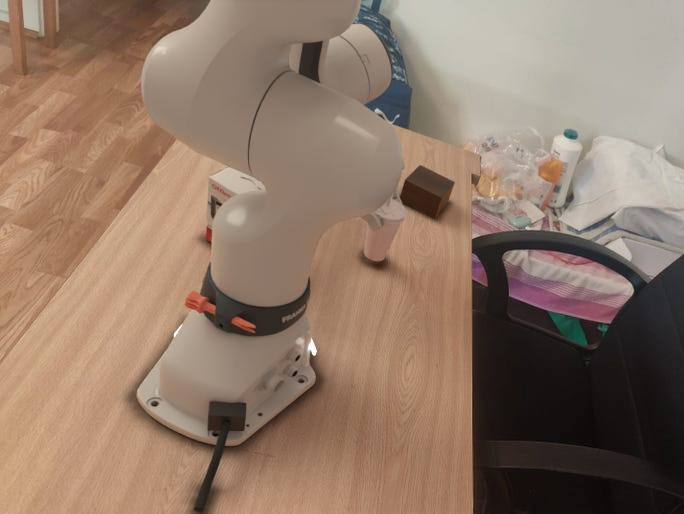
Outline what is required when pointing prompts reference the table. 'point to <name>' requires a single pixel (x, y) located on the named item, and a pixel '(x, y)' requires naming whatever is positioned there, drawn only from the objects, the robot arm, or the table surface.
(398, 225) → the smoothie
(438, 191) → the block
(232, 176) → the ink box
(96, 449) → the table surface
